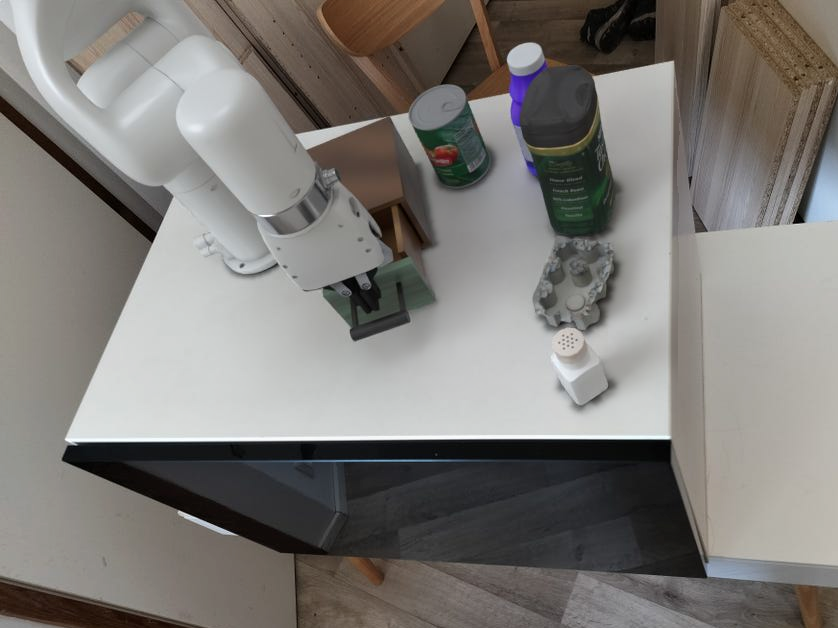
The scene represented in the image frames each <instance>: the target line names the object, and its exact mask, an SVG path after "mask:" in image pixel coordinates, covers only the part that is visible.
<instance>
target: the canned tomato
mask: <svg viewBox="0 0 838 628" xmlns="http://www.w3.org/2000/svg"><path fill="white" fill-rule="evenodd" d="M407 115H408V122H409V123H410V124H411V126H412V128H413V131H414V132H415V134H416V136H417V138H418V140H419V142H420V144H421V147H422V148H423V150H424V153H425V154H426V156H427V158H428V160H429V162H430V164H431V166H432V169H433V170H434V172H435V174H436V176H437V180H438V181H439V182H440V183H441V185H443V186H444V187H446V188H448V189H452V190H455V189H456V190H457V189H459V190H460V189H465V188H468V187H471V186H473V185H475V184H477V183H478V182H480V180H482V179H483V178H484V177H485V175H487V173H488V171H489V169H490V167H491V163H492V162H491V161H492V160H491V159H492V158H491V155H490V153H489V151H488V149H487V145H486V144H485V141H484V138H483V135H482V133H481V130H480V128H479V126H478V123H477V120H476V118H475V115H474V113H473V110H472V108H471V106H470V103H469V101H468V98H467V94H466V92H465V91H464V89H463V88H462V87H460V86H458V85H455V84H440V85H436V86H434V87H433V86H432V87H430V88H428V89H427V90H425V91H424V92H422V93H420V94H419V96H417V97H416V99H415V100H413V102H412V104H411V105H410V107H409V110H408V113H407Z"/></svg>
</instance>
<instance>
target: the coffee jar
mask: <svg viewBox="0 0 838 628" xmlns="http://www.w3.org/2000/svg"><path fill="white" fill-rule="evenodd" d="M547 67H548V68H544V69H543V71H542V72H541V73H539V74H538V75H537V76H536V77H535V78H534V79H533V80H532V82H531V83H530V85H529V87H528V89H527V92H526V94H525V97H524V100H523V103H522V107H521V111H520V115H519V122H520V126H521V131H522V135H523V139H524V142H525V144H526V146H527V147H528V149H529V151H530V153H531V156H532V159H533V162H534V166H535V169H536V173H537V176H536V177H537V179H538V183H539V186H540V191H541V194H542V197H543V202H544V205H545V209H546V213H547V217H548V220H549V223H550V226H551V228H552V229H553V231H555V232H556V233H557V234H560V235H563V236H569V237H570V236H571V237H585V236H589V235H594V234H596V233H598V232H601V231H602V230H603V229H605V227H607V225H608V223H609V221H610V219H611V216H612V213H613V210H614V204H615V199H616V184H615V180H614V175H613V171H612V167H611V162H610V159H609V155H608V150H607V149H608V148H607V146H606V145H607V143H606V140H605V135H604V131H603V125H602V124H603V123H602V118H601V109H600V101H599V96H598V93H597V88H596V82H595V80H594V77H593V75H592V74H591V73H590V72H589V71H588V70H587V69H586V68H584V67H582V66H581V65H579V64H569V65H568V64H567V65H557V66H556V65H555V66H547Z"/></svg>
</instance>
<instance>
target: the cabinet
mask: <svg viewBox="0 0 838 628" xmlns="http://www.w3.org/2000/svg"><path fill="white" fill-rule="evenodd" d="M306 151H307V152H308V154H309V155H310V157H311V158H312V160H313V161H314V162H315V161H316V162H317V163H318V164H319V166H320V167H321V168H323V169H324V170H325V169H328V170H329V169H332V168H336V169H337V170H338V172H339V175H340V178H341V181H340V183H341V184H342V185H343V186H345V187H346V188H347V189H348V190H349V191H350V192H351V193H352V194H353V195H354V196H355V197H356V198H357V200H358V201H359V202H360V203H361V204H362V205H363V207H364V208H365V209H366V210H367V211H368V213H369V214H372V213H374V212H377V211H379V210H382V209H385V208H387V207H390V206H392V205H395V204H398V203H401V205H402V207H403V208H404V210H405V212H406V213H407V215H408V217H409V218H410V220H411V222H412V223H413V225H414V227H415V228H416V230H417V232H418V237H419V242H420V248H421V250H423V249H425V248H428V247H430V246H432V245H433V243H432V237H431V233H430V226H429V222H428V217H427V211H426V206H425V200H424V196H423V191H422V185H421V180H420V175H419V170H418V167H417V164H416V162H415V161H414V159H413V157H412V155H411V153H410V151H409V150H408V147H407V145H406V143H405V142H404V140H403V138H402V136H401V134H400V132H399V131H398V129H397V127H396V125H395V123H394V121H393V119H392V117H391V116H390V115H388V116H386V117H383V118H381V119H379V120H376V121H373V122H371V123H368V124H366V125H364V126H361V127H359V128H357V129H354V130H351V131H349V132H347V133H344V134H342V135H339V136H337V137H334V138H331V139H329V140H327V141H325V142H322V143H319V144H317V145H315V146H312V147H309V148H308V149H306Z"/></svg>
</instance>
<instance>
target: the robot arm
mask: <svg viewBox="0 0 838 628" xmlns="http://www.w3.org/2000/svg"><path fill="white" fill-rule="evenodd" d="M131 13H135V14H138V15H140V16H141V17H142V18H143V20H141V22H139V23H138V24H137V25H135V27H134V28H132V29H131V30H130V31H129V32H128V33H126V35H124V36H123V37H122V38H121V39H120V40H118V41H116V42H115V43H114V44H113V45H112V46H111V47H109V49H108V50H106V51H105V52H103V54H101V56H99V57H98V58H97V59H96V60H95V61H94V62H93V63H92V64H91V65H90V66H89V67H88V68H87V69H85V71H84V73H83V74H82V75H81V76H80V78H79V79H78V81H77V82H76V83H75V81H74V80H73V79H72V77H71V75H70V73H69V71H68V69H67V65H66V63H65V62H68V61H70V60H72V59H74V58H75V57H78V56H79V55H80V54H82V53H83V52H84V51H86V50H87V49H88V48H90V47H91V46H92V45H93V44H94V43H96V41H98V40H99V39H100V38H102V36H103V35H105V34H106V33H107V32H108V31H110V30H111V29H112V28H113V27H114V26H116V25H117V24H118V23H119V22H120V21H121V20H122V19H123V18H125V16H127V15H128V14H131ZM0 22H1V23H3V24H4V25H5V27H7V29H9V30H10V31H11V32H12V33H13V34H14V35H15V37H16V42H17V45H18V48H19V51H20V55H21V58H22V61H23V63H24V65H25V68H26V70H27V72H28V75H29V76H30V78H31V80H32V82H33V84H34V86H35V88H36V89H37V90H38V91H39V93H40V94H41V96H42V97H43V99H44V100H45V101H46V102H47V104H48V105H49V106H50V107H51V108H52V110H53V111H54V112H55V113H56V114H57V115H58V116H59V117H60V118H61V119H62V120H63V121H64V122H65V123H66V124H67V125H68V126H70V127H71V128H72V129H73V130H74V131H75V132H76V133H77V134H79V135H80V136H81V137H82V138H83V140H85V141H86V142H88V143H89V145H90V146H92V147H93V148H94V149H95V150H96V151H98V152H99V153H100V154H101V155H102V156H103V157H104V158H105V159H106V160H108V161H109V162H110V163H111V164H112V165H113V166H114V167H115V168H117V169H118V170H119V171H120V172H122V173H123V174H124V175H126V176H127V177H128V178H130V179H132V180H133V181H135V182H136V183H139V184H141V185H144V186H147V187H161V186H163V188H165V190H167V191H168V192H169V193H170V194H171V195H172V196H173V197H174V198H175V199H176V200H177V201H178V202H179V203H180V204H181V205H182V207H184V208H185V209H186V211H188V212H189V213H190V214H191V215H192V216H193V217H194V218H195V219H196V220H197V221H198V222H199V223H200V224H201V225H202V226H203V227H204V228H205V229H206V231H208V232H205V233H202V234H200V235H197V236H194V237H193V244H194V246H195V248H196V249H198V250H200V253H201V255H202V256H203V258H208V257H210V256H214V254H217V253H218V254H221V255H222V260H223V261H224V264H226V265H227V266H228V267H229V268H230V269H231V270H232V271H233V272H235V273H238V274H243V275H253V274H257V273H260V272H264V271H266V270H268V269H270V268H272V267H274V266H275V265H276V264H278V265H279V267H280V268H281V270H282V271H283V272H284V273H285V275H286V276H287V277H288V278H289V279H290V280H291V281H292V282H293V283H294V285H296V287H298V288H299V289H301V290H302V291H303V292H306V293H307V292H308V293H309V292H313V291H319V290H322V289H325V290H331V291H337V292H338V293H339V294H341V295H342V296H344V297H347V296H349V298H350V299H351V300H352V301H353V302H354V304H355V305H356V306H360V307H361V308H362V309H363V311H364V312H365V313H366V314H370V313H371V312H372V310H373V311H378V310H380V307H379V300H378V299H380V298H381V297H382V296H381V291H380V288H379V287H378V285H377V284H376V283H375V281H374V280H373V278H374V276H375V274H376V273H377V271H378V268H382V267H384V266H385V265H387V264H389V263H391V262H392V261H393V253H392V250H391V249H390V248H389V247H388V246H387V245H386V244H384V243H383V242H382V241H381V240H380V239H378V238H380V237H382V234H381V231H380V228H379V226H378V225H377V223H376V222H375V220H374V219H373V218H372V216H371V215H370V214H369V213H368V211H367V210H366V209H365V208H364V207H363V205H362V204H361V203H360V202H359V201H358V200H357V198H356V197H355V196H354V195H353V194H352V193H351V192H350V191H349V190H348V189H347V188H346V187H345V186H343V185H342V184H341V183H340V181H341V178H340V175H339V172H338V170H337V169H336V168H332V169H329V170H328V169H325V170H324V169H323V168H321V167H320V166H319V164H318V163H317V162H316V161H315V162H314V161H313V160H312V158H311V157H310V155H309V154H308V152H307V151H306V150H307V149H306V148H305V146H304V144H302V142H301V141H300V139H299V138H298V137H297V135H296V133H295V131H293V129H292V128H291V126H290V125H289V123H288V122H287V121H286V119H285V118H284V116H283V115H282V113H281V111H279V109H278V107H277V106H276V105H275V103H274V102H273V101H272V99H271V97H270V96H269V95H268V93H267V92H266V90H265V89H264V87H263V86H262V85H261V83H260V82H259V81H258V80H257V79H256V78H255V77H254V76H253V75H252V74H250V73H249V72H247V71H246V69H245V68H244V66H243V64H242V63H241V62H240V61H239V59H238V58H237V56H236V55H235V54H234V53H233V52H232V51H231V50H230V49H229V48H228V47H227V46H226V45H225V44H223V43H222V42H221V41H219V40H217V39H216V38H215V36H214V35H213V34H212V32H211V31H210V29H208V27H207V26H206V25H205V24H204V23H203V22H202V20H201V19H200V18H199V17H198V16H197V14H196V13H195V12H194V10H192V8H191V7H190V6H189V5H188V4H187V3H186V2H185V1H184V0H0Z"/></svg>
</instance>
